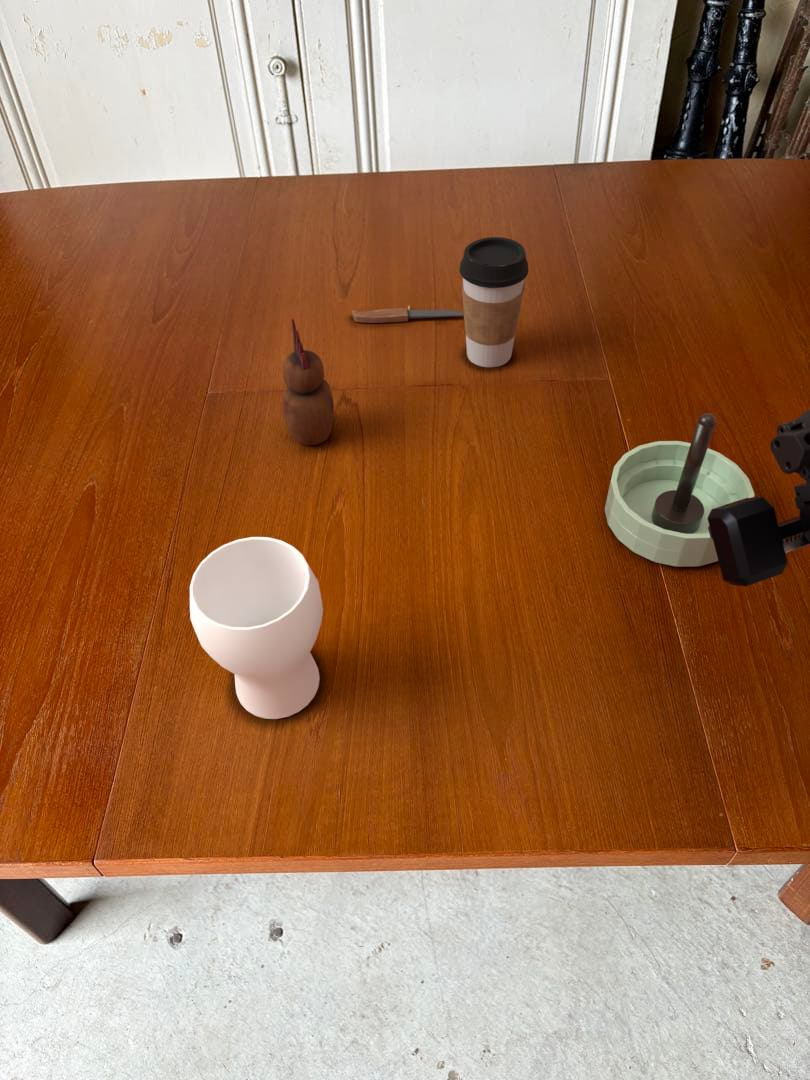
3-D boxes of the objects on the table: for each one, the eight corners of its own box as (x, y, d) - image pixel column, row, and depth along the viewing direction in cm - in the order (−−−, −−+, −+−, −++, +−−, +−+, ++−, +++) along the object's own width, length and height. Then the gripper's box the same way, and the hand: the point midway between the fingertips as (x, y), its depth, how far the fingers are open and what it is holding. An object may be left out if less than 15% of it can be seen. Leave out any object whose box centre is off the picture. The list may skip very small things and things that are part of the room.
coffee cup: (448, 365, 107) (449, 260, 96) (469, 331, 112) (473, 227, 101) (510, 379, 105) (518, 273, 93) (528, 343, 110) (538, 238, 98)
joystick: (685, 544, 84) (721, 440, 74) (642, 521, 87) (671, 417, 76) (708, 517, 87) (746, 412, 76) (666, 496, 89) (697, 391, 78)
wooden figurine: (292, 416, 101) (274, 310, 90) (338, 416, 101) (326, 310, 89) (285, 453, 96) (265, 346, 85) (333, 453, 96) (320, 346, 85)
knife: (469, 300, 115) (471, 312, 113) (469, 306, 116) (471, 318, 114) (352, 306, 115) (352, 318, 113) (352, 313, 115) (352, 325, 113)
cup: (336, 728, 72) (317, 630, 61) (216, 739, 72) (175, 642, 60) (333, 630, 79) (316, 526, 68) (224, 639, 79) (189, 536, 67)
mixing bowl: (767, 550, 84) (783, 517, 80) (644, 585, 82) (654, 552, 78) (695, 462, 93) (706, 428, 90) (582, 491, 91) (588, 457, 87)
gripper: (976, 370, 59) (818, 402, 74) (759, 437, 55) (640, 457, 70) (1010, 518, 60) (847, 520, 75) (799, 595, 55) (672, 581, 71)
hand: (754, 516), depth 72 cm, fingers open, 9 cm apart
